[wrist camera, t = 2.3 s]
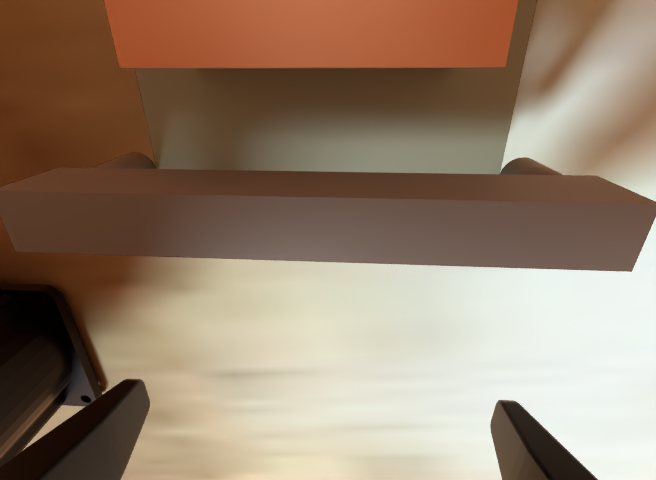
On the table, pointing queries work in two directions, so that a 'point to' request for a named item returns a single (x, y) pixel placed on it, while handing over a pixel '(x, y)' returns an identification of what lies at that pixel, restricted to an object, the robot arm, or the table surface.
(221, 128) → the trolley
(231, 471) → the table surface
